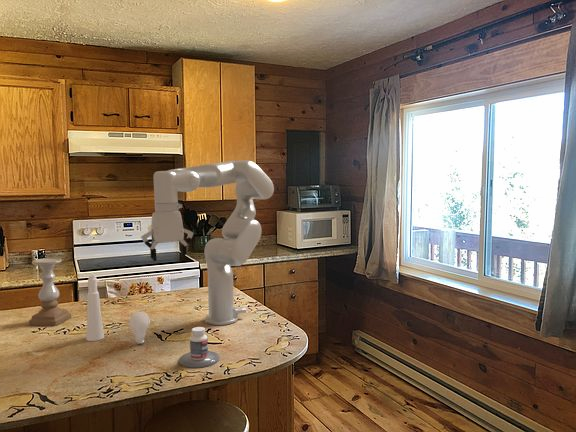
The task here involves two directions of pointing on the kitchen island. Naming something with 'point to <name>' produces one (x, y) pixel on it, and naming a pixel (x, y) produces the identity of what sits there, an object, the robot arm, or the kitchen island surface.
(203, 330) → the pill bottle
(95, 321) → the cosmetic bottle
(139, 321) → the light bulb
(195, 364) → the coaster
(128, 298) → the kitchen island surface
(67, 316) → the candle holder
